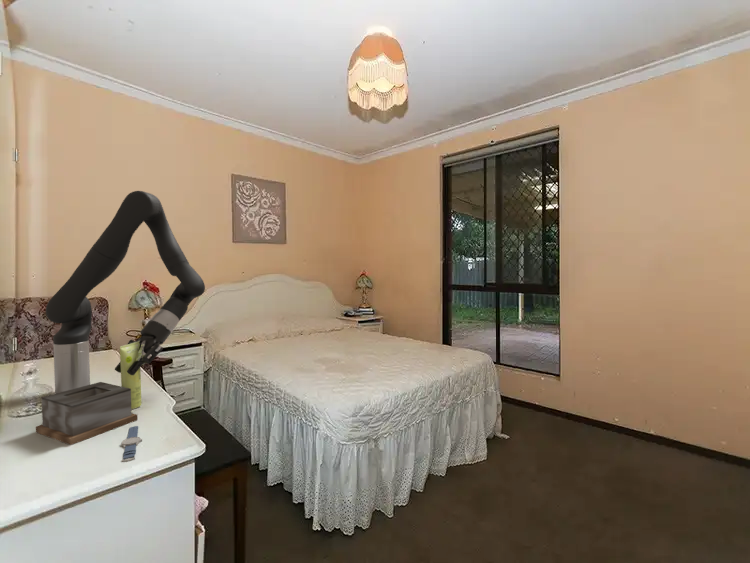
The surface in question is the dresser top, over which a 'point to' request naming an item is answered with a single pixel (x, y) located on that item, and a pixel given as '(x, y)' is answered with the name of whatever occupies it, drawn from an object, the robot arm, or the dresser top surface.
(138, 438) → the wristwatch
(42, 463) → the dresser top surface
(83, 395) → the socket
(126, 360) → the tube
